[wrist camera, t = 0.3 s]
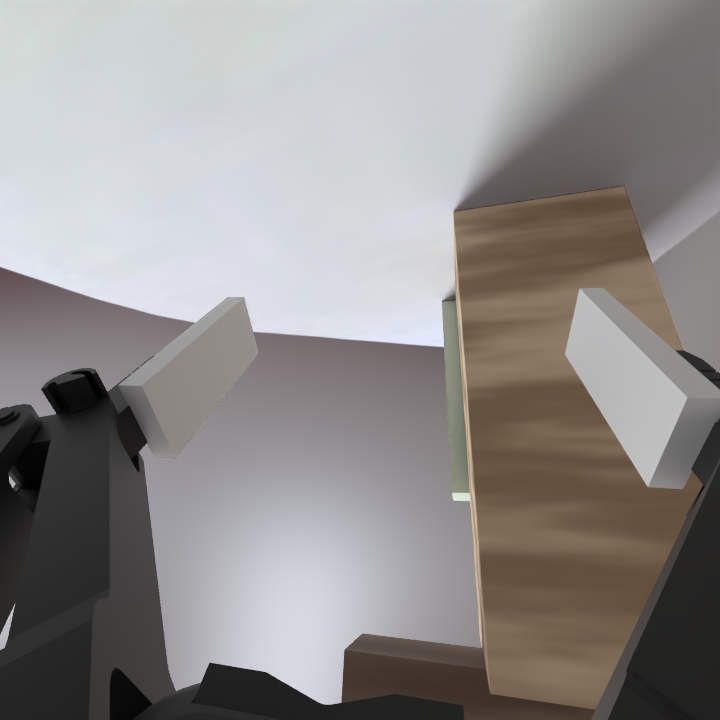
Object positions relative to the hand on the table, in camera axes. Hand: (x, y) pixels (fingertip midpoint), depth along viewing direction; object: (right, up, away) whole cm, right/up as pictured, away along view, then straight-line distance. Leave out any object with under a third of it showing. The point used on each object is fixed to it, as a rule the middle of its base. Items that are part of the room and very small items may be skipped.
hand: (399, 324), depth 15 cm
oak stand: (+13, +8, +18) cm, 24 cm away
